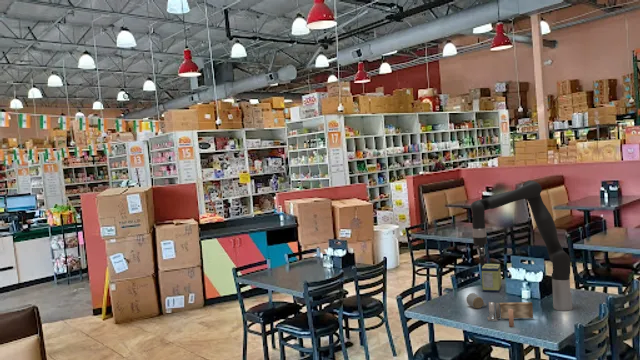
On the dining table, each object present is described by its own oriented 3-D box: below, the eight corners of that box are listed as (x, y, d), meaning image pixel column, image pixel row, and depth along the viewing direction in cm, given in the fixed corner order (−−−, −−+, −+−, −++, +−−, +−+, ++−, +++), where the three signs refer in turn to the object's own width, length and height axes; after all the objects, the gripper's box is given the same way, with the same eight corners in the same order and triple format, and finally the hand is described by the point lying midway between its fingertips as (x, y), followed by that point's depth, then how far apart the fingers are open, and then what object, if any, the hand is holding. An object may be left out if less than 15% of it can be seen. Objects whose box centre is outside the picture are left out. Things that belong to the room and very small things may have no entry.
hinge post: (496, 318, 291) (495, 301, 290) (497, 321, 286) (496, 303, 285) (487, 318, 292) (486, 301, 291) (488, 321, 287) (487, 304, 286)
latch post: (513, 325, 277) (512, 308, 277) (514, 327, 275) (513, 310, 274) (508, 325, 278) (507, 308, 277) (509, 327, 275) (508, 310, 275)
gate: (496, 318, 287) (495, 304, 287) (496, 317, 290) (495, 302, 289) (533, 318, 283) (532, 303, 283) (532, 316, 286) (531, 302, 285)
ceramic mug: (473, 310, 308) (473, 297, 308) (466, 306, 316) (465, 293, 316) (489, 307, 311) (489, 294, 310) (482, 304, 319) (481, 291, 318)
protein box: (501, 286, 353) (500, 263, 352) (499, 292, 339) (498, 268, 338) (485, 285, 357) (484, 263, 356) (482, 292, 343) (481, 268, 342)
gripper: (487, 237, 296) (490, 266, 297) (485, 233, 310) (487, 260, 311) (473, 238, 298) (476, 266, 298) (472, 234, 312) (474, 261, 312)
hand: (481, 263), depth 305 cm, fingers open, 8 cm apart
